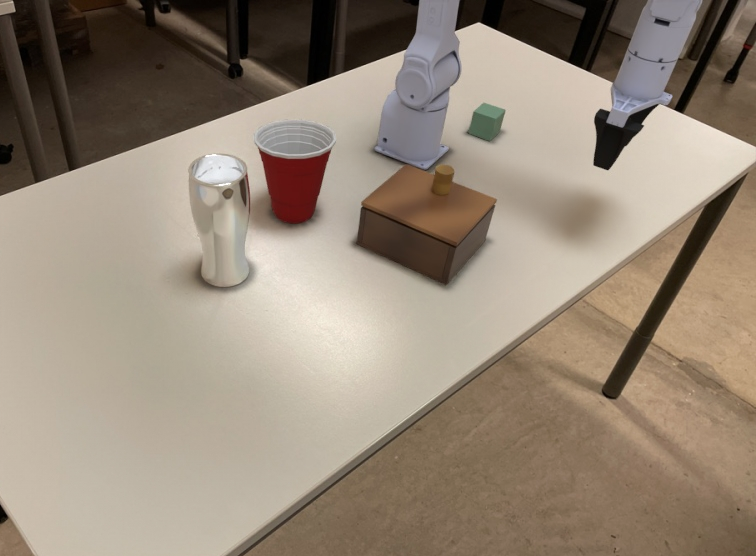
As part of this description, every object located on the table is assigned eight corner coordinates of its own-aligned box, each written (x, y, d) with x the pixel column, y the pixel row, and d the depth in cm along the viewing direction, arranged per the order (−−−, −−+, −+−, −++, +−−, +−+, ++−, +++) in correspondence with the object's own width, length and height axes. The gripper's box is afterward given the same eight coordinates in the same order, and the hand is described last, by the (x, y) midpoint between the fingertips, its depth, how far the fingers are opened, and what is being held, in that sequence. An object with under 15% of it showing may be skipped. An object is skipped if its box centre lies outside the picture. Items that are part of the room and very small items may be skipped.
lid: (360, 205, 85) (363, 180, 82) (405, 167, 91) (409, 143, 89) (456, 246, 79) (462, 221, 77) (496, 202, 86) (503, 178, 83)
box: (356, 244, 89) (360, 207, 85) (399, 204, 96) (405, 169, 91) (446, 285, 84) (455, 248, 80) (485, 240, 91) (495, 204, 86)
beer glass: (209, 296, 81) (199, 192, 70) (189, 263, 85) (177, 160, 74) (261, 280, 83) (259, 177, 72) (239, 248, 87) (234, 147, 77)
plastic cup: (320, 185, 98) (324, 110, 90) (340, 229, 91) (347, 151, 83) (248, 193, 96) (246, 117, 88) (263, 238, 89) (261, 159, 80)
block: (468, 133, 111) (473, 111, 108) (478, 124, 113) (483, 102, 110) (490, 141, 109) (495, 118, 106) (500, 131, 112) (506, 109, 109)
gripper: (671, 83, 72) (624, 189, 82) (702, 42, 81) (656, 142, 91) (608, 65, 75) (569, 170, 85) (644, 27, 83) (605, 126, 93)
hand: (610, 154), depth 88 cm, fingers open, 7 cm apart
